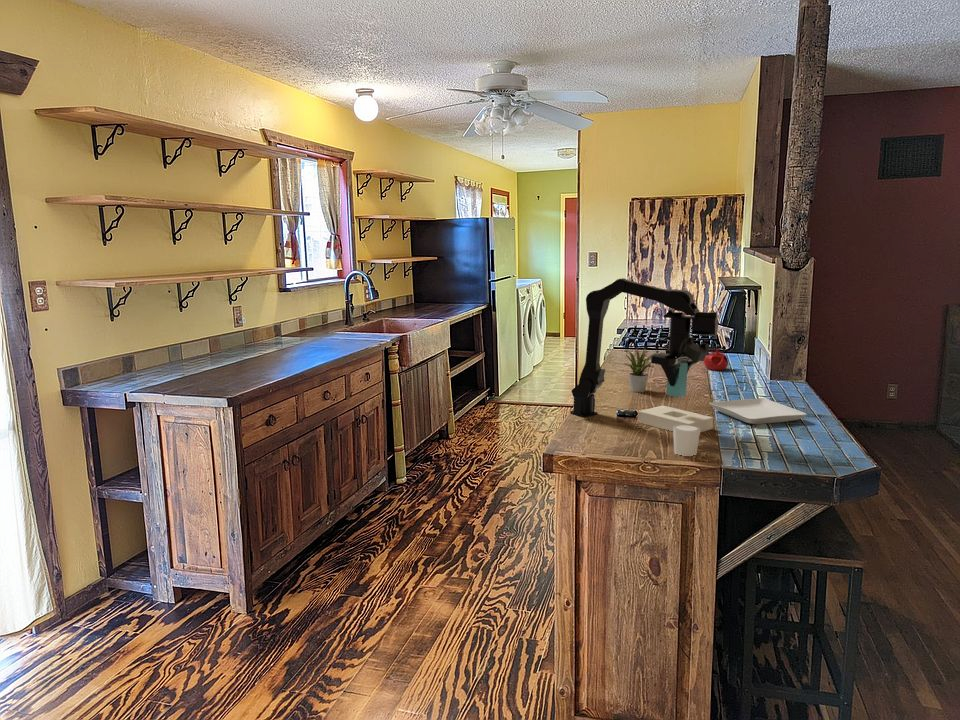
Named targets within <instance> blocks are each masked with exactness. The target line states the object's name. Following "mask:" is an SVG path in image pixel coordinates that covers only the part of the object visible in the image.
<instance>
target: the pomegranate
mask: <svg viewBox="0 0 960 720" xmlns="http://www.w3.org/2000/svg"><path fill="white" fill-rule="evenodd" d="M719 350H720V348H716V350H715V351H713V350H709V355H707V356H706V357H705V359H704V361H703V364H704V366H705V368H706V369H707V368H708V369H707V370H710V371H714V370H717V371H724V370H726V369H727V367H728V365H729V361H728V357H727V356H726V354H725V353H724V352H723V351H719ZM717 371H716V372H717Z"/></svg>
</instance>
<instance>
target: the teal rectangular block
mask: <svg viewBox="0 0 960 720" xmlns="http://www.w3.org/2000/svg"><path fill="white" fill-rule="evenodd" d="M677 364H679V365H681V366H680V367H679V368H678V369H677V371H676V378H675V384H674V386H670V384H669V381H668V379H667V380H666V396H670V397H676V398H679V397H685V396H686V395H687V385H688V384H687V383H688V382H687V381H688V373H687V369H688V362H682V361H678V363H677Z"/></svg>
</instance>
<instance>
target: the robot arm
mask: <svg viewBox="0 0 960 720" xmlns="http://www.w3.org/2000/svg"><path fill="white" fill-rule="evenodd" d="M622 293H624V294H629V295H632V296H636V297H639V298H643V299H647V300H652V301H655V302H659V303H660V304H662V305H664V306H666V307H667V308H669V310H668V311H667V312H666V313H665V314H664V315H663V318H667V319H670V323H669V335H666V337H665V338H666V341H668V349H665V353H664V352H656V354H655V353H652V354H653V355H652V354H651V355H652V356H651V359H650V363H651V364H653V365H654V364H655V365H659V366H660V367H661V369H662V371H663V372H664V374H665V376H666V378H667V379H668V381H669V384H670V386H674V384H675V378H676V371H677V369H678V368H679V367H680V366H681V365H679V364H677V363H678V361H682V362H688V369H687V374H688V373H689V372H690V368H691V367H692V366H694V365H695V364H697V363H699V362H704V359H705V357H706V356H707V355H709V354H710V344H708V343H706V342H704V343H700V344H697V343H695V342H694V337H693V336H691V332H692V331H693V332H694V333H695V335H698V336H699V335H700V336H710V337H711V336H712V337H713V336H714V337H716V336H717V335H718V331H719V330H718V329H719V321H718V312H717V311H710V312H709V311H708V312H707V311H700V310H699V308H698V307H697V305H696V304H695V302H694V295H693V294H692V292H690V291H689V290H685V289H670V288H669V289H668V288H661V287H657V286H652V285H648V284H644V283H640V282H637V281H633V280H628V279H626V278H617V279H616V280H615V281H614V282H612V283H610V284H608V285H607V286H605V287H602V288H601V289H597V290H592V291H590V292H589V293H587V295H586V297H585V306H586V312H587V315H588V326H587V327H588V328H587V330H588V331H587V341H586V352H585V361H584V362H585V363H584V366H583V368H582V371H581V373H580V376H579V377H580V378H579V380H578V384H577V385H576V386H574V388H573V389H571V394H572V397H573V410H570V411H569V413H570V412H571V413H570V414H572V415H575V416H580V417H590V416H594V415H597V414H598V411H595V407H596V405H595V403H596V399H595V394H596V392H597V390H598V389H599V388H601V386H602V385H603V383H604V382H605V381H606V380H605V373H606V369H605V368H602V366H601V365H600V364H601V363H600V362H601V353H602V351H601V350H602V349H601V348H602V340H603V330H604V329H603V328H604V318H605V316H606V314H607V312H608V309H609V306H610V303H611V302H610V301H611V300H612V299H614V298H617V297H618V295H619V296H620V294H622Z"/></svg>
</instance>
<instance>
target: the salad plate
mask: <svg viewBox="0 0 960 720" xmlns="http://www.w3.org/2000/svg"><path fill="white" fill-rule="evenodd" d="M709 405H710V406H711V407H712V409H715V410H716V411H718V412H720V413H723V414H724V415H726V416H729V417H731V418H734V419H737V420H739V421H742V422H744V423H746V424H750V425H761V424H765V425H766V424H776V423H785V422H786V423H787V422H795V421H797V420H801V419H803V418H805V417H806V416H807V414H808V413H806V412H804V411H801V410H798V409H797V408H796V409H795V408H793V407H790V406H788V405H784V404H782V403H779V402H776V401H773V400H770V399H767V398H763V397H760V398H759V397H758V398H746V399H745V398H744V399H733V400H721V401H712V402H711V401H710V402H709Z"/></svg>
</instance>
